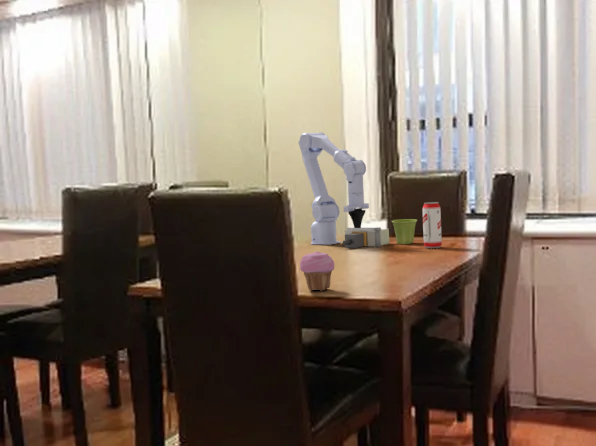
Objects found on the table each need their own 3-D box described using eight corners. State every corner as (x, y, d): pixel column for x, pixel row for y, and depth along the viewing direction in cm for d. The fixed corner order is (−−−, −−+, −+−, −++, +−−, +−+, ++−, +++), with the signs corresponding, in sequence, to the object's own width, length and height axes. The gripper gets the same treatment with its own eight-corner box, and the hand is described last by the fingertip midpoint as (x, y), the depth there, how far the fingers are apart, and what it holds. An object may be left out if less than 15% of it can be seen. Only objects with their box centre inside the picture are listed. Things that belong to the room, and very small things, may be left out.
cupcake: (328, 294, 184) (326, 254, 184) (296, 293, 188) (294, 254, 187) (340, 287, 193) (338, 249, 192) (308, 287, 196) (306, 249, 195)
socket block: (342, 245, 282) (341, 230, 281) (358, 242, 290) (357, 227, 290) (379, 247, 272) (378, 231, 272) (393, 243, 281) (393, 228, 280)
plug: (338, 248, 272) (338, 234, 272) (360, 243, 284) (359, 230, 283) (351, 249, 269) (350, 234, 268) (372, 244, 280) (372, 230, 280)
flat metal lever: (346, 230, 278) (346, 228, 278) (348, 230, 280) (348, 227, 280) (379, 230, 271) (379, 228, 271) (382, 230, 274) (381, 227, 274)
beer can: (441, 246, 266) (439, 201, 264) (442, 248, 259) (441, 202, 258) (423, 247, 266) (421, 202, 265) (424, 249, 260) (422, 203, 259)
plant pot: (419, 244, 275) (418, 220, 274) (393, 245, 275) (393, 222, 274) (416, 241, 284) (415, 218, 283) (391, 242, 284) (390, 220, 284)
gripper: (354, 194, 269) (356, 231, 270) (375, 191, 280) (376, 227, 281) (338, 194, 273) (339, 231, 274) (359, 191, 284) (360, 227, 286)
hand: (357, 229), depth 278 cm, fingers closed, pressing on flat metal lever
